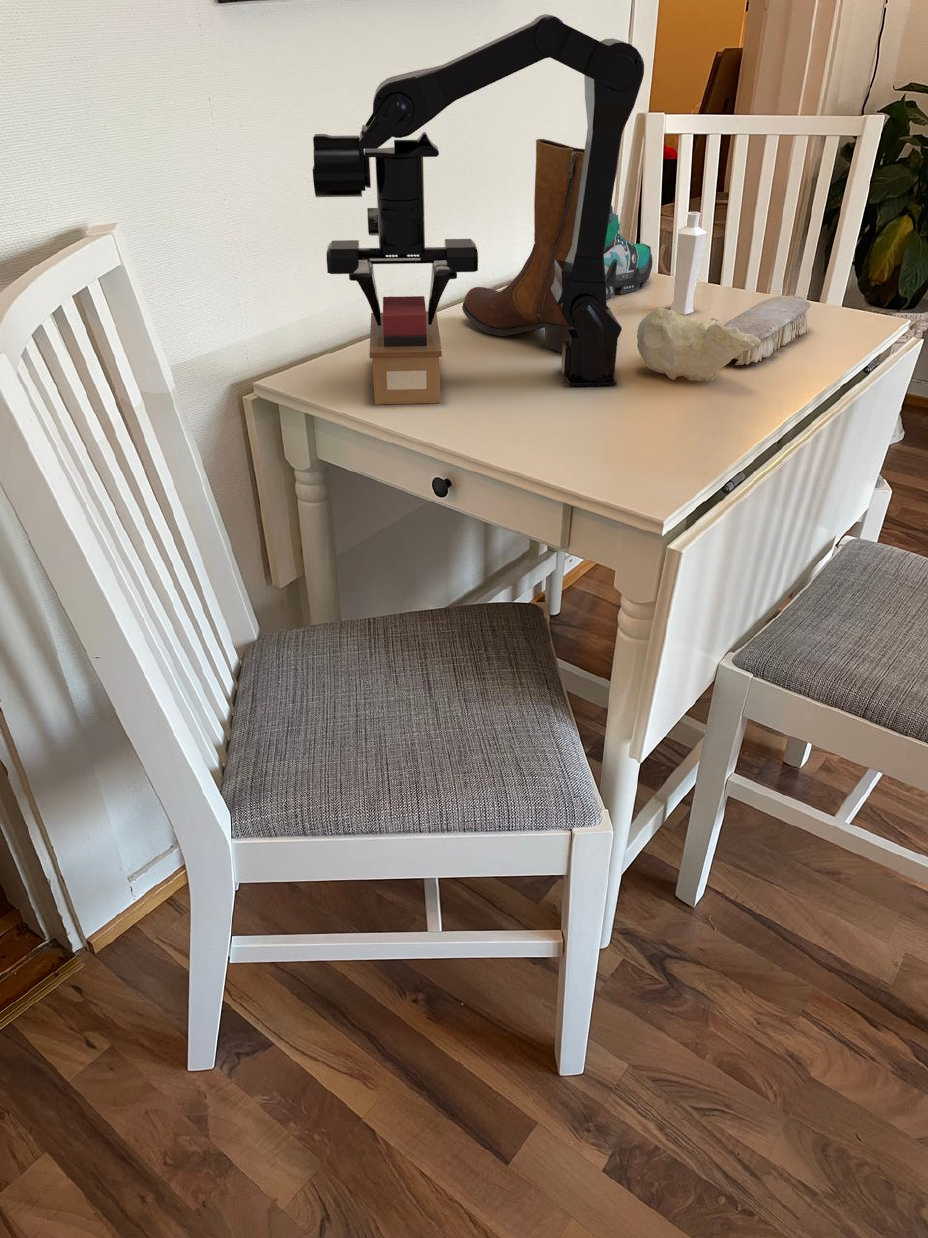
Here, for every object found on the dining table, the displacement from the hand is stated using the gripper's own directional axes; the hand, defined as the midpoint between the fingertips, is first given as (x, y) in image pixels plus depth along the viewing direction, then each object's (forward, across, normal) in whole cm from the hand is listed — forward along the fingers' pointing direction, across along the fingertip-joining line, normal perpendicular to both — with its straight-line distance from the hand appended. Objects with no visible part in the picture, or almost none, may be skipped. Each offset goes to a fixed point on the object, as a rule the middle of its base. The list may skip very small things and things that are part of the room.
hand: (404, 324), depth 126 cm
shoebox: (+8, 0, 0) cm, 8 cm away
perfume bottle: (+8, -45, -29) cm, 54 cm away
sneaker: (+8, -35, -42) cm, 55 cm away
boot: (+8, -19, -18) cm, 27 cm away
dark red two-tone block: (+1, 0, 0) cm, 1 cm away
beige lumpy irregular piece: (+8, -40, 0) cm, 41 cm away
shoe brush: (+8, -53, -12) cm, 55 cm away
